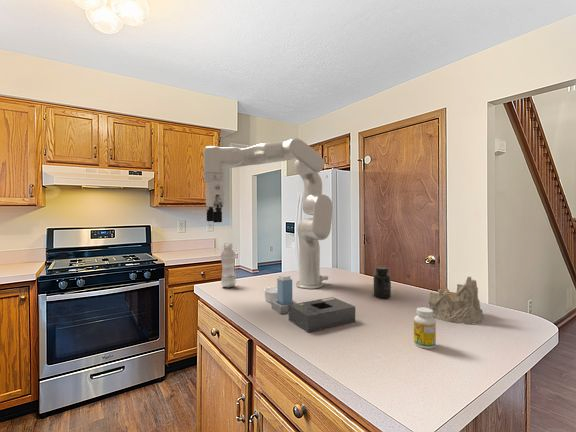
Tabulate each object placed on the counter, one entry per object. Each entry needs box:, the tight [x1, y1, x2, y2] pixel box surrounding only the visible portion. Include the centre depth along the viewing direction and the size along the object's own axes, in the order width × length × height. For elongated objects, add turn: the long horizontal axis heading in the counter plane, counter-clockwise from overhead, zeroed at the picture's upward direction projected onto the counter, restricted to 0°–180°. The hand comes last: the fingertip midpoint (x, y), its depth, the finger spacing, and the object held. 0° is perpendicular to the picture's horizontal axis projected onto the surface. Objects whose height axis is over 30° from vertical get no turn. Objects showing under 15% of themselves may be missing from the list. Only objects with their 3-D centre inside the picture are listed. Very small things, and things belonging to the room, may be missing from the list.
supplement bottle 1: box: [373, 266, 392, 300], centre depth 129 cm, size 7×7×12 cm
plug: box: [276, 274, 293, 305], centre depth 114 cm, size 4×4×12 cm
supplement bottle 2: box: [413, 307, 437, 350], centre depth 85 cm, size 5×5×10 cm
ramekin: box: [263, 286, 277, 304], centre depth 126 cm, size 9×9×4 cm
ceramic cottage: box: [427, 276, 484, 325], centre depth 108 cm, size 16×16×15 cm
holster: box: [271, 299, 297, 315], centre depth 114 cm, size 7×7×2 cm
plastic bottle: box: [220, 242, 237, 288], centre depth 145 cm, size 6×7×20 cm
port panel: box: [288, 296, 356, 333], centre depth 102 cm, size 18×12×5 cm, turn 119°
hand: (214, 221), depth 125 cm, fingers open, 9 cm apart
